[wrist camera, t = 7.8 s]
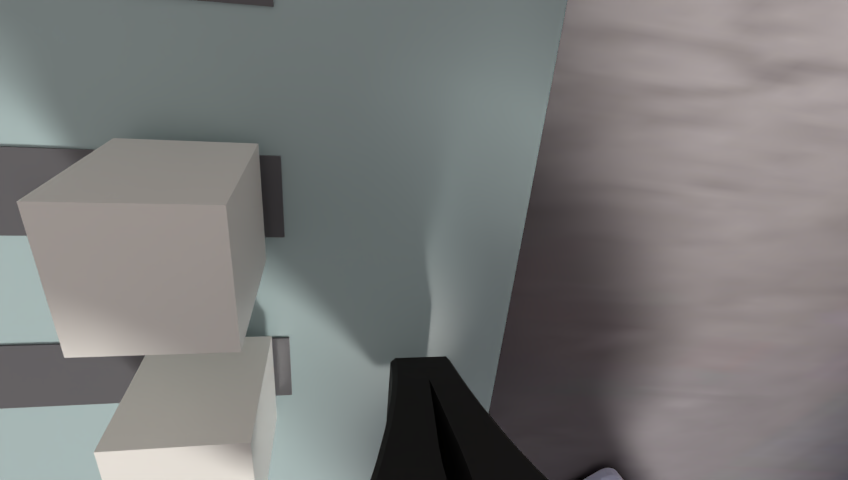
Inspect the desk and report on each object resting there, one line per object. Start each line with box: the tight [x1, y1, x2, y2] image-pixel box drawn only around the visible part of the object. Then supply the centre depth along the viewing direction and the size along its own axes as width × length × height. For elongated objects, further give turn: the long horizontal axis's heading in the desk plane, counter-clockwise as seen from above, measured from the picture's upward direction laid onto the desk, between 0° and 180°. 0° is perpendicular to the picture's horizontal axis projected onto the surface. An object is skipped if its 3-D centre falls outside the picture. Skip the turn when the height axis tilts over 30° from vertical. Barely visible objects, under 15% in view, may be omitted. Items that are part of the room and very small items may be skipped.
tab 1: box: [16, 138, 266, 358], centre depth 8 cm, size 2×2×3 cm
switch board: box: [0, 0, 567, 480], centre depth 11 cm, size 20×16×2 cm
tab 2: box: [94, 336, 277, 480], centre depth 10 cm, size 2×2×3 cm
